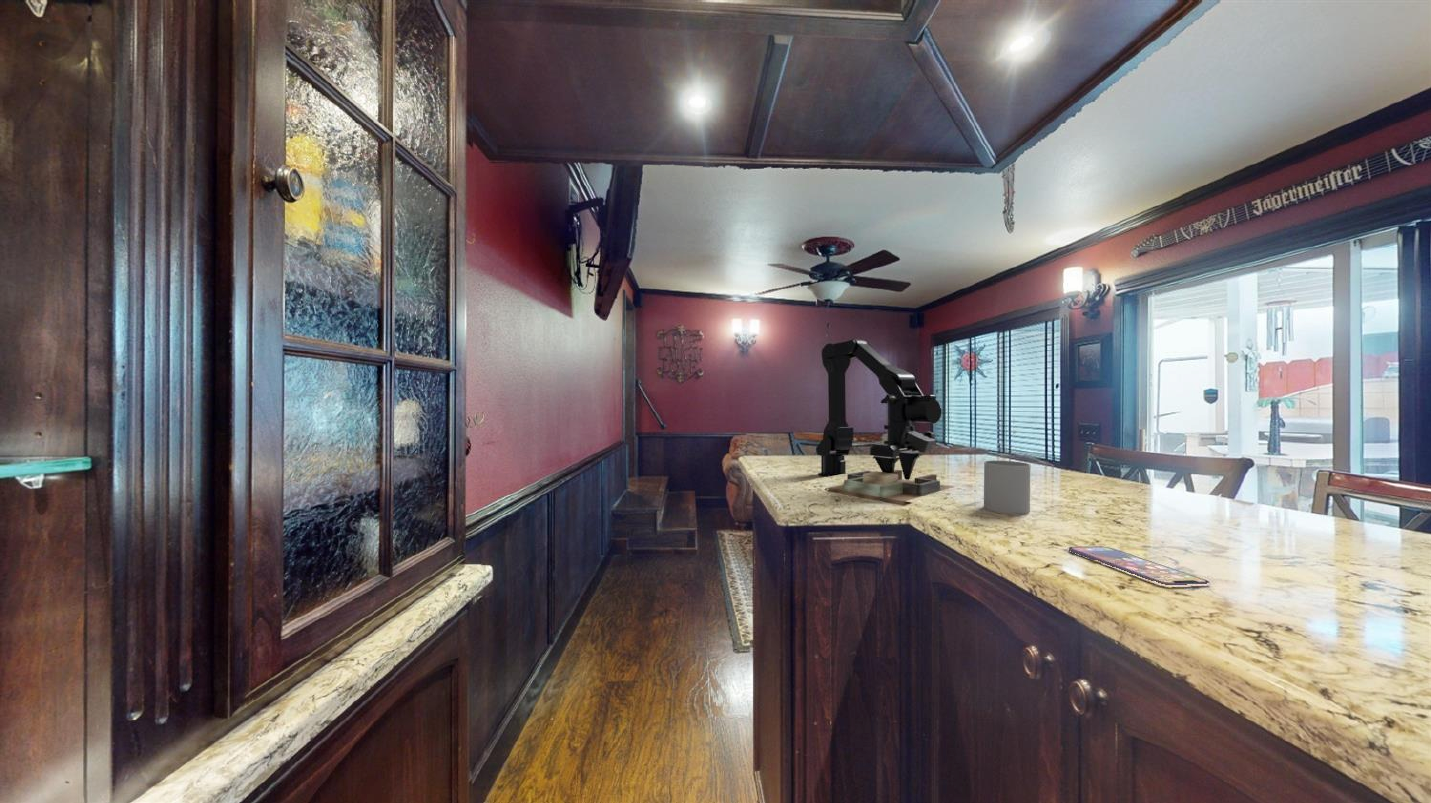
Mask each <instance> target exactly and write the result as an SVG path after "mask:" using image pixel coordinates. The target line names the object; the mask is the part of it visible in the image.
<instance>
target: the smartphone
mask: <svg viewBox="0 0 1431 803" xmlns="http://www.w3.org/2000/svg"><path fill="white" fill-rule="evenodd" d="M1069 551H1071V552H1073V553H1076V554H1079V555H1081V556H1084V557H1087V558H1089V559H1092V560H1098V561H1100V562H1102V563H1105V564H1107V565H1110V566H1112V567H1116V568H1119V569H1121V570H1124V571H1127V572H1129V573H1131V574H1135V575H1137V576H1140V577H1142V578H1145V579H1148V580H1151V581H1156V582H1158V583H1161V584H1165V585H1187V584H1207V583H1209V584H1210V580H1207V579H1204V578H1201V577H1199V576H1196V575H1193V574H1189V573H1188V572H1187V573H1186V572H1183V571H1181V570H1178V569H1175V568H1173V567H1169V566H1166V565H1163V564H1160V563H1157V562H1154V561H1151V560H1149V559H1148V560H1147V559H1145V558H1142V557H1139V556H1136V555H1133V554H1130V553H1127V552H1125V551H1121V550H1118V549H1115V548H1113V547H1109V546H1069V547H1068V552H1069ZM1073 553H1072V554H1073ZM1081 556H1080V557H1081Z"/></svg>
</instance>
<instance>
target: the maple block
mask: <svg viewBox="0 0 1431 803" xmlns="http://www.w3.org/2000/svg"><path fill="white" fill-rule="evenodd" d="M863 482H864V483H870V484H877V485H887V484H891V483H895V482H898V474H892V473H885V472H882V471H876V470H875V471H873V472H870V473H865V474H863Z"/></svg>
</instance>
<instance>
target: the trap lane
mask: <svg viewBox="0 0 1431 803" xmlns="http://www.w3.org/2000/svg"><path fill="white" fill-rule="evenodd" d="M870 472H874V471H873V470H872V471H871V470H864V471H858V472H853V473H846V474H847V479H844V481H843V484H839V485H835V486H829V487H828V490H827V491H828V493H833V494H834V493H835V494H838V493H839V495H845V496H850V497H856V498H861V499H865V498H867V499H866V500H870V499H871V501H872V500H873V501H876V502H882V503H888V504H892V505H898V506H903V507H905V506H907V505H911V504H914V502H912V501H910V500H914V499H917V498H920V497H923V496H927V495H931V494H934V493H938V492H942V491H945V490H948V489H949V490H950V489H952V488H954V486H951V485H945V484H941V482H940V481H941V480H939V479H937V477H938V475H937V474H934V473H931V474H926V475H923V476H918V477H914V480H910V479H909V480H906V479H905V478H904V479H903V471H902V469H894V474H898V482H895V483H891V484H887V485H877V484H870V483H864V482H863V474H865V473H870Z"/></svg>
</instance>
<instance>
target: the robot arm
mask: <svg viewBox="0 0 1431 803" xmlns="http://www.w3.org/2000/svg"><path fill="white" fill-rule="evenodd" d="M853 358H856V359H858V360H859V361H860V362H861V363H862V365H864V366H865V367H866V368H867V369H868V370H869V371H871V372H872V373H873V374H874V375H875V376H876V378H877V380H878V383H879V385H880V387H881V388H882V389H883V391H884V392H885V393H886V395H885V397H884V398H882V399H881V400H880V403H881V404H887V423H886V424H884V425H883V429H884V430H887V431H886V432H887V433H886V434H887V438H886V440H884V441H883V443H875V444H872V445H871V446H870V447H869V456H872V458H873V459H875V461H876V463H877V465H878V467H879V468H880V470H881V472H885V473H892V474H894V470H895V466H896V463H897V462H898V461H900V462H899V463H900V466H901V470H902V475H903V476H904V480H910V479H911V476H912V473H913V469H914V467H915V464H916V461H917V460H918V459H919V458H920V457H922V456H923V455H924V454H925V453H927V452H928V453H930V452H932V450H933V447H934V446H936V445H937V442H936V440H937V439H936V435H935V433H934V432H932V431H925V432H924V433H922V432H917V431H916V426H915V425H912V422H913V423H923V424H936V423H938V422H939V421H940V419H941V416H942V408H941V404H940V403H939V402H938V400H937V396H936V395H935V394H926V395H924V394H923V391H922V390H921V389H920V388H919V385H918V384H917V383H916V380H917V379H916V378H915V376H914V375H913V374H912V373H910V372H908V371H906V370H904V369H902V368H900V367H897V366H894V365H892V364H891V363H890V362H889V361H888V360H886V358H884V357H883V356H882V355H881V354H880V353H878V352H877V351H876V350H875V348H873V347H871V346H870V345H869V344H868V343H867V341H865V340H864V339H855V338H854V339H853V338H852V339H850V340H846V341H842V342H835V343H831V342H829V343H826V344H825V346H824V347H823V348H822V350H821V359H822V366H823V367H824V369H825V371H826V372H827V377H828V378H827V380H828V382H827V383H828V384H827V386H828V422H827V424H826V425H825V427H824V428H823V435H822V437H823V438H822V439H821V441H820V442H819V444H818V445H817V446H816V448H815V451H816V455H817V456H820V460H821V461H820V462H821V463H820V464H821V465H820V470H821V472H817V475H820V476H825V477H826V476H827V477H834V476H840V475H844V474H845V475H846V474H847V472H846V466H847V465H846V464H847V462H846V460H845V456H848V455H850V454H849V453H850V450H851V448H852V447H853V441H855V439H854V428H853V426H850V425H849V424H848V422H847V420H846V419H847V416H846V415H847V412H846V411H847V410H846V408H847V407H846V406H847V405H846V401H847V400H846V399H847V398H846V396H847V395H846V374H847V370H848V369H849V368H850V365H851V359H853Z"/></svg>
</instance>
